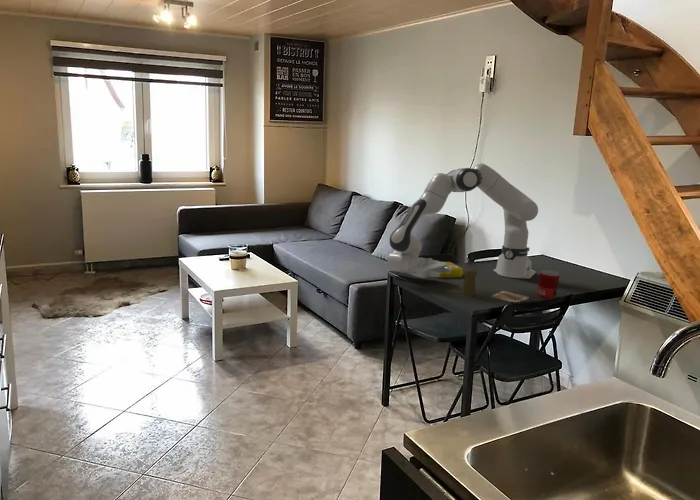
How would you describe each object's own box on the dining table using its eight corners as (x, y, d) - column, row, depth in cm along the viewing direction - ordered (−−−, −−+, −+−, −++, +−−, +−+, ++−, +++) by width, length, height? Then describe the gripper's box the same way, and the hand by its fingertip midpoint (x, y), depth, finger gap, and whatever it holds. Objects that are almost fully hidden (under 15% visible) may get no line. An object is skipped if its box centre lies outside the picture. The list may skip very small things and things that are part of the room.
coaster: (503, 292, 254) (503, 290, 253) (529, 298, 246) (529, 296, 246) (490, 297, 244) (490, 295, 244) (517, 304, 237) (517, 302, 237)
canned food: (557, 300, 246) (560, 275, 244) (537, 298, 248) (541, 273, 245) (554, 295, 253) (558, 271, 251) (535, 293, 255) (539, 269, 253)
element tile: (449, 270, 290) (450, 260, 289) (463, 277, 276) (464, 268, 275) (422, 270, 285) (422, 261, 284) (434, 278, 271) (435, 268, 270)
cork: (459, 291, 250) (462, 266, 248) (473, 292, 251) (475, 267, 249) (463, 295, 244) (466, 270, 242) (477, 296, 245) (480, 271, 243)
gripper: (406, 263, 254) (433, 270, 245) (431, 257, 269) (457, 262, 261) (405, 277, 255) (432, 284, 246) (430, 270, 270) (456, 276, 262)
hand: (445, 273), depth 254 cm, fingers open, 8 cm apart
